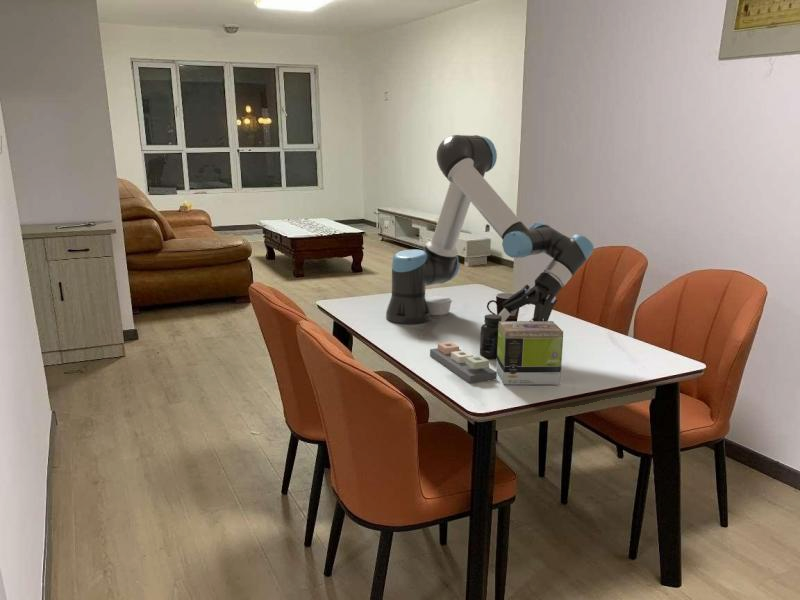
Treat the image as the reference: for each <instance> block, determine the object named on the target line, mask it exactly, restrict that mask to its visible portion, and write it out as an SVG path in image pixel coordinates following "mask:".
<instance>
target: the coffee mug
mask: <svg viewBox="0 0 800 600" xmlns="http://www.w3.org/2000/svg"><path fill="white" fill-rule="evenodd" d="M514 294H515V293H513V292H500V293H496V294H495V300H494V299H492V300H489V301H488V302H487V304H486V309H487V310H488V312H489V314H495V315H498V314H499V313H500V312H501V311H502V310H503V305H502V303H503V302H504V301H505V300H507V299H508V298H510V297H511V296H513V295H514ZM491 303H495V304H496V313H495V312H493V311H492V310H491V309H490V307H489V306H490V304H491ZM519 313H520V308H518V309H516V310H514V311H512V312H511V315H510V316H509V317H508V318H507V319H506V320H505V321H518V318H519Z"/></svg>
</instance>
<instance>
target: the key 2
mask: <svg viewBox="0 0 800 600" xmlns="http://www.w3.org/2000/svg"><path fill="white" fill-rule="evenodd" d="M465 364H466V365H468V366H470V367H471V368H473V369H480V368H487V367H489V368H490V359H486V358H484V357H482V356H481V355H480V354H479V355H473V356H472V357H466V360H465Z"/></svg>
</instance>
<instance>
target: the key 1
mask: <svg viewBox="0 0 800 600" xmlns="http://www.w3.org/2000/svg"><path fill="white" fill-rule="evenodd" d="M437 348H438V350H439V351H441V352H442V353H444V354H451V352H456V351H459V349H460V346H459V345H458V344H456V343H454V342H453V341H447V342H441V343H439V342H438V343H437Z"/></svg>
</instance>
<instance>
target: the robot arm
mask: <svg viewBox="0 0 800 600" xmlns="http://www.w3.org/2000/svg"><path fill="white" fill-rule="evenodd" d="M497 156H498V153H497V149H496V146H495V144H494V142H493V141H492V140H491V139H489V138H488V137H486V136H481V135H475V134H474V135H469V134H468V135H466V134H465V135H464V134H463V135H462V134H453V135H449V136H448V137H445V138H444V139H443V140H442V141H441V142H440V143H439V145H438V148H437V150H436V162H437V166H438V167H439V170H440V171H441V173H442V175H443V176H444V177H445V178H446V179H447V181H448V182H450V183H449V185H448V188H447V192H446V195H445V197H444V201H443V205H442V206H441V207H442V208H441V210H440V214H439V217H438V219H437V223H436V226H435V229H434V233H433V236H432V239H431V240H428V241H427V242H426V244H425V246H424V250H421V249H412V248H411V249H405V250H401V251H398V252H395V254H394V255H393V257H392V264H391V297H390V300H389V303H388V305H387V308H386V312H385V318H386V320H388V321H390V322H392V323H397V324H407V325H408V324H409V325H412V324H413V325H415V324H421V323H425V322H428V321H429V320H430V315H429V314H430V313H429V309H428V306H427V302H426V299H425V296H426V287H428V286H432V285H438V284H444V283H447V282H450V281H451V280H453V279H454V278H455V277H456V276H457V274H458V272H459V269H460V261H459V256H458V255H459V254H458V253H459V252H458V250H457V248H456V245H457V243H458V239H459V237H460V234H461V231H462V229H463V225H464V223H465V219H466V216H467V214H468V210H469V208H470V205H471V204H472V205H473V206H474V208H476V210H477V211H478V212H479V213H480V214H481V216H482V217H483V218H484V219H485V220H486V221H487V223H488V224H489V225H490V226H491V228H493V230H494V231H495V233H497V235H498V236H499V237H500V238H501V240H502V242H501V244H502V248H503V249H502V250H503V252H504V253H505V255H507V256H508V257H510V258H515V259H517V258H518V259H519V258H520V259H521V258H527V257H528V256H534V255H539V254H546V255H547V256H549V257H550V258H552V259H551V261H550V262H549V263H548V265H546V267H545V268H544V269H543V272H541V273H539V275H538V276H537V277H536V278H535V280H534V285H533V286H532V287H530V285H528V284H525V285H524V286H523V287H522V288H521V289H520V290H518V291H517V292H515V293H514V295H513V296H511V297H510V298H508V299H507V300H505V301H504V302H503V303H502V305H503V310H502V311H501V312H500V313H499V314H498V315H500V316H501V317H502V319H501V321H505V320H506V319H507V318H508V317H509V316H510V315H511V312H512V311H514V310H516V309H518V308H519V309H520V308H522V307H524V306H527V305H533V306H534V311H533V317H532V318H531V319H530V320H529V321H549V319H550V317H551V314H552V312H553V309H554V307H555V304H557V302H558V300H559V299H558V298H557V297H556V296H557V295H558V294H559V293H560V292H561V290H562V287H563V288H564V287H565V285H566V284H567V283H568V282H569V280H570V279H571V278H572V277H573V276H574V275H575V274H576V273H577V271H578V270H579V269H580V268H581V267H582V266H583V265H584V264H585V263H586V262H587V261H588V259H589V258H590V257H591V255H592V254H593V252H594V250H595V247H594V245H593V243H592V241H591V240H590V239H589V238H587V237H586V236H585V235H582V234H579V233H575V234H574V235H573V236H571V237H569V236H567V235H564V234H563V233H562V232H560V231H558V230H556V229H554V228H553V227H551V226H550V225H549V224H546V223H543V222H542V221H536V222H534V223H533V224H531V225H530V226H529V228H527V226H526V225H525V224H524V223H523V222H522V221H521V220H520V218H519V217H518V216H517V214H515V212H514V211H513V210H512V209H511V208H510V206H508V204H507V203H506V202H505V201H504V200H503V199H502V197H501V196H500V195H499V194H498V193H497V191H495V189H494V188H493V187H492V185H491V184H489V183H488V181H487V180H486V179H485V174H486V173H488V172H489V171H491V170H492V169H494V167H495V165H496V164H497V159H498V157H497Z"/></svg>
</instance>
